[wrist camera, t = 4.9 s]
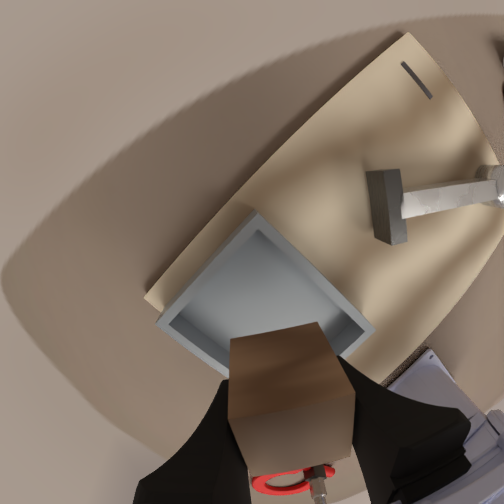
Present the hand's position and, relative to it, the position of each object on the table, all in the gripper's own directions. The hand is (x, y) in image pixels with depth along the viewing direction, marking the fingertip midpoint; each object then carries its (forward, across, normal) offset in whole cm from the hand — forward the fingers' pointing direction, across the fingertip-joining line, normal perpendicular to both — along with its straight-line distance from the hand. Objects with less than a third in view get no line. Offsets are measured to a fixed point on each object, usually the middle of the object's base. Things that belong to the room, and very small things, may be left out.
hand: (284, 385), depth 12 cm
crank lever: (+7, -15, -6) cm, 18 cm away
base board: (+8, -10, -3) cm, 13 cm away
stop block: (+1, 0, 0) cm, 1 cm away
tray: (+8, 0, 0) cm, 8 cm away
